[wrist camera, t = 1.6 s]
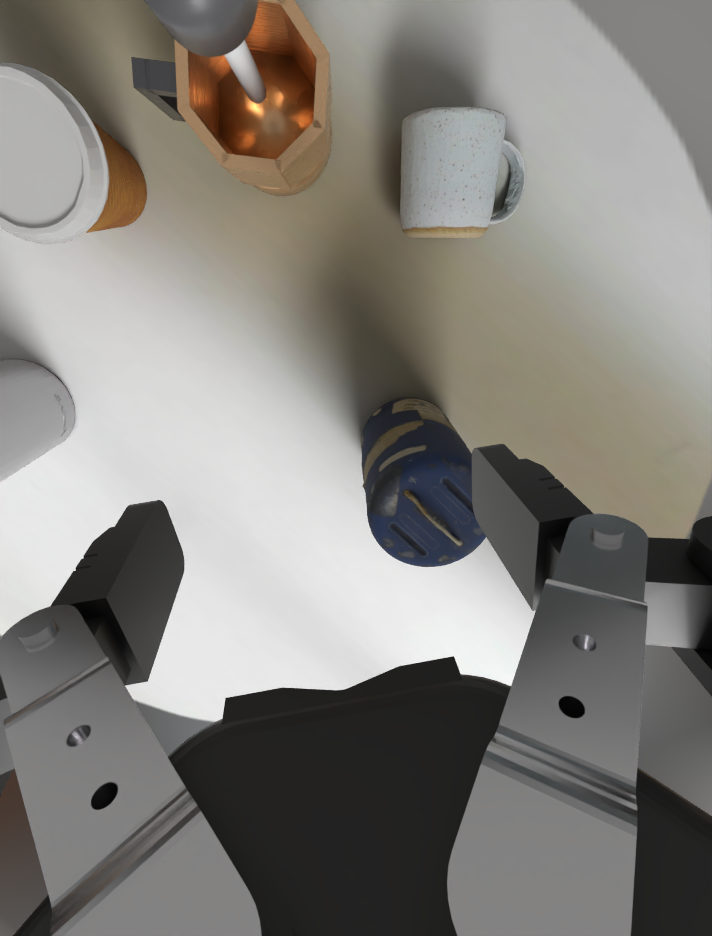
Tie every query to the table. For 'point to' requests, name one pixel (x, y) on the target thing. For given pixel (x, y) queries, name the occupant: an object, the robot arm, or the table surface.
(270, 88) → the wooden pitcher
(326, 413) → the table surface
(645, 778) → the robot arm
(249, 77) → the plunger
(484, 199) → the ceramic mug
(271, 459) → the table surface
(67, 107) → the disposable coffee cup
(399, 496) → the canister
